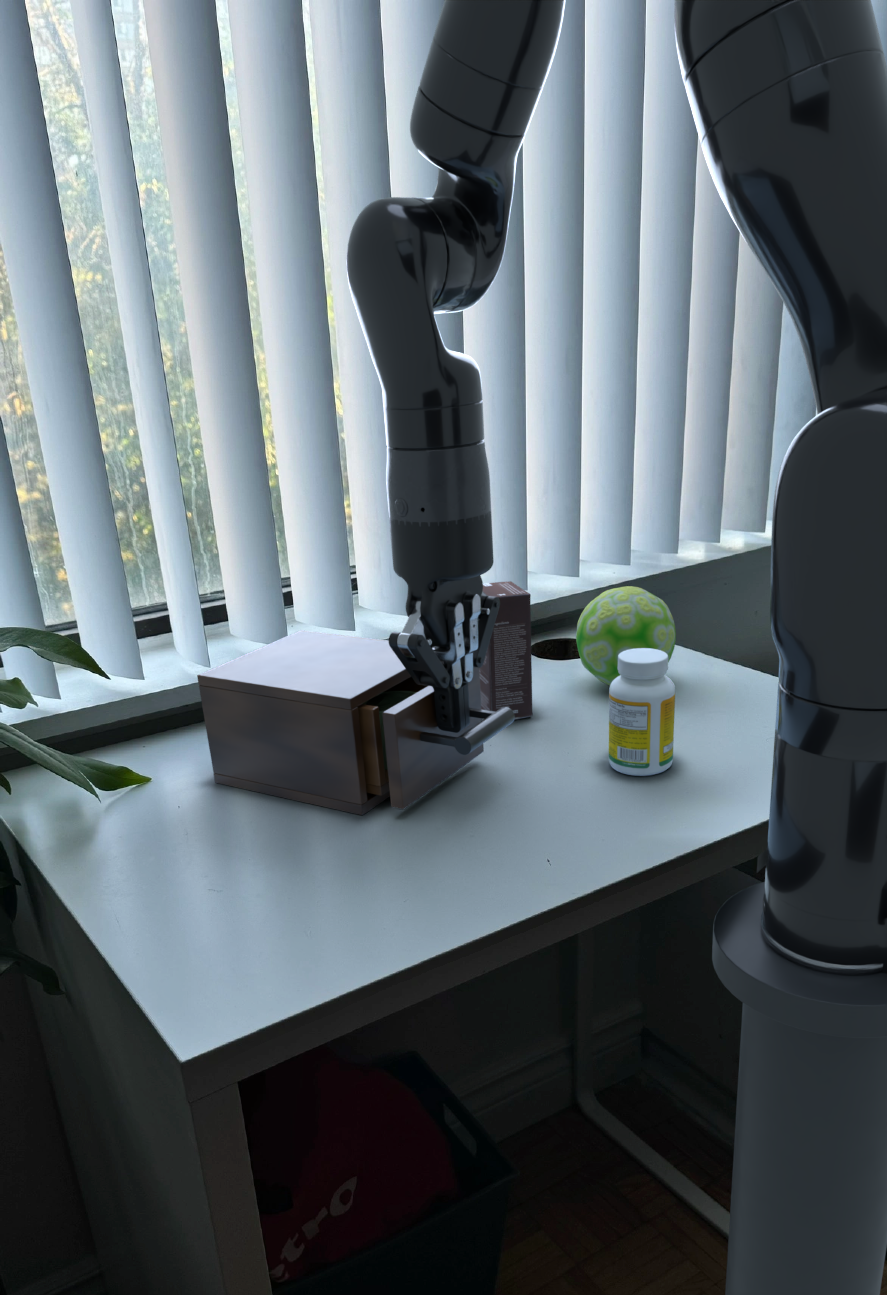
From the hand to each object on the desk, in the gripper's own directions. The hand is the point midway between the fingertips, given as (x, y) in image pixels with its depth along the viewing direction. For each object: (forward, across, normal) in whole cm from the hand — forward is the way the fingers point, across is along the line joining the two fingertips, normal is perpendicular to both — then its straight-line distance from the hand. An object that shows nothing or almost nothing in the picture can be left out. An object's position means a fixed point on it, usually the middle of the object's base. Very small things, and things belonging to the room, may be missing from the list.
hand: (454, 728), depth 86 cm
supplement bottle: (+6, +11, -11) cm, 17 cm away
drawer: (+5, 0, +6) cm, 8 cm away
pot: (+4, 0, +6) cm, 7 cm away
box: (+6, +18, +6) cm, 20 cm away
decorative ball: (+6, +29, -2) cm, 30 cm away
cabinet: (+6, 0, +13) cm, 14 cm away
